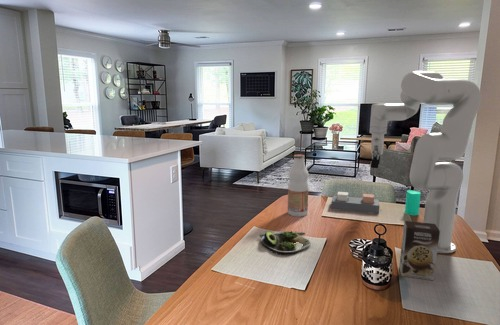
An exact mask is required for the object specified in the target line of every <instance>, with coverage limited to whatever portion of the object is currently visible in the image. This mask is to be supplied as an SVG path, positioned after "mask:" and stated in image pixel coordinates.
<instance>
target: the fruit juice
mask: <svg viewBox="0 0 500 325" xmlns="http://www.w3.org/2000/svg"><path fill="white" fill-rule="evenodd" d="M293 159H294V160H293V163H292V166H291V168H290V169H289V171H288V178H289V180H288V185H287V214H288V215H289V216H292V217H305V216H307V215H308V212H309V211H308V210H309V209H308V208H309V182H308V179H309V176H310V175H309V171H308V168H307V167H306V163H305V154H294V155H293Z"/></svg>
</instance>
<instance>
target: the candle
mask: <svg viewBox="0 0 500 325" xmlns="http://www.w3.org/2000/svg"><path fill="white" fill-rule="evenodd" d="M421 194H422V193H421V192H420V191H419V190H411V189H408V190H406V194H405V195H406V196H405V206H404V214H406V213H407V214H406V215H409V216H419V213H420V207H421V206H420V205H421Z"/></svg>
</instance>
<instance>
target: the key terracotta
mask: <svg viewBox="0 0 500 325" xmlns="http://www.w3.org/2000/svg"><path fill="white" fill-rule="evenodd" d="M362 198H363V203H371V204H374V199H375V194H373V193H372V194H371V193H370V194H369V193H362Z"/></svg>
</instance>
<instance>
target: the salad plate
mask: <svg viewBox="0 0 500 325" xmlns="http://www.w3.org/2000/svg"><path fill="white" fill-rule="evenodd" d="M304 235H306V232H304V231H303V232H297V231H295V232H294V231H292V230H291V231H287V230H282V231H281V230H280V231H278V232H274V233H273V232H271V231H266V232H265V233H264V234H262V233H261V234H259V235H258V237H260V238H261V239H260V244H261V245H262V246H263V247H264V248H265V249H267V250H268V251H270V252H271V251H272V252H271V253H273V254H276V253H277V255H280V254H281V256H290V255H293V254H297V253H300V252H301V251H303V250H306V249H307V248H309V247H311V244H312V243H311V241H310V240H309V239H308V238H305V237H303V236H304ZM296 242H299V243H298V244H301V249H300V248H299V249H297V243H296ZM294 243H296V244H294ZM302 244H303V246H302ZM299 251H300V252H299Z"/></svg>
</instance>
